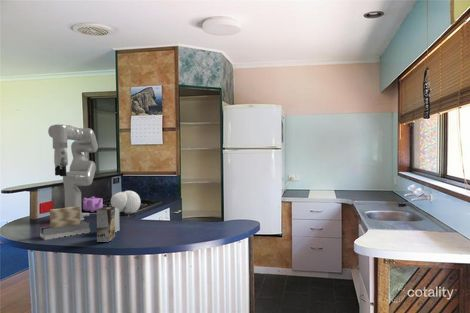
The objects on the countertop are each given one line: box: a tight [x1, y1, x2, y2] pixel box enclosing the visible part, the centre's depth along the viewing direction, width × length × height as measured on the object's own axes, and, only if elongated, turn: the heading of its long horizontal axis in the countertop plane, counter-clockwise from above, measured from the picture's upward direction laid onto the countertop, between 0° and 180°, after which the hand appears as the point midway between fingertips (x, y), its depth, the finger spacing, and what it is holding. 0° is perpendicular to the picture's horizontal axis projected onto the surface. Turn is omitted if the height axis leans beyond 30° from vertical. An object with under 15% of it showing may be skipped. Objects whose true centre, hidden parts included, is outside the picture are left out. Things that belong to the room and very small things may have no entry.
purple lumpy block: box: [82, 196, 104, 213], centre depth 246 cm, size 15×13×11 cm
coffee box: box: [96, 206, 116, 243], centre depth 165 cm, size 9×6×16 cm
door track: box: [39, 220, 91, 241], centre depth 178 cm, size 22×9×5 cm, turn 133°
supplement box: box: [115, 209, 121, 233], centre depth 182 cm, size 7×7×13 cm
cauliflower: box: [110, 190, 141, 215], centre depth 234 cm, size 20×18×16 cm
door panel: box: [49, 206, 81, 228], centre depth 178 cm, size 14×3×12 cm, turn 133°
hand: (60, 175), depth 193 cm, fingers open, 9 cm apart
